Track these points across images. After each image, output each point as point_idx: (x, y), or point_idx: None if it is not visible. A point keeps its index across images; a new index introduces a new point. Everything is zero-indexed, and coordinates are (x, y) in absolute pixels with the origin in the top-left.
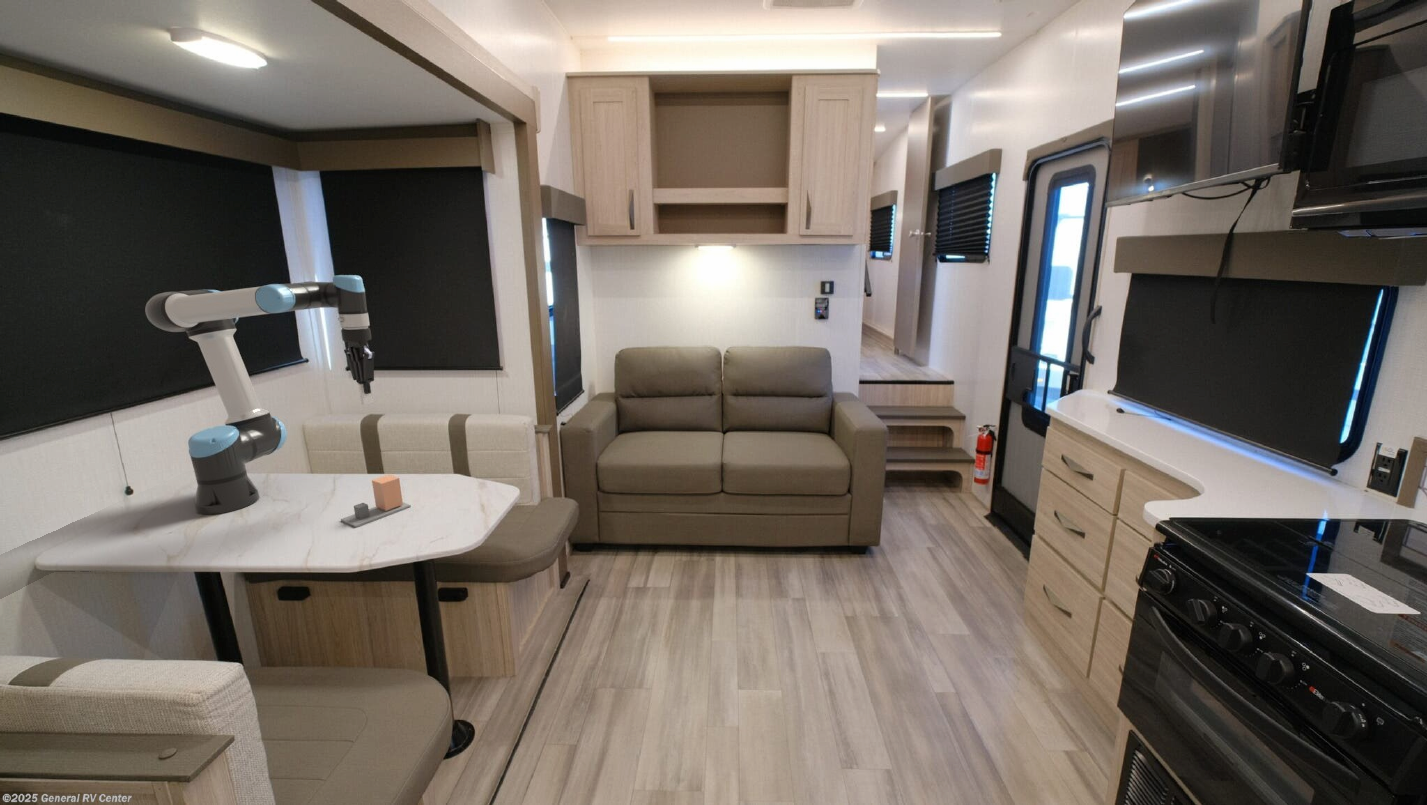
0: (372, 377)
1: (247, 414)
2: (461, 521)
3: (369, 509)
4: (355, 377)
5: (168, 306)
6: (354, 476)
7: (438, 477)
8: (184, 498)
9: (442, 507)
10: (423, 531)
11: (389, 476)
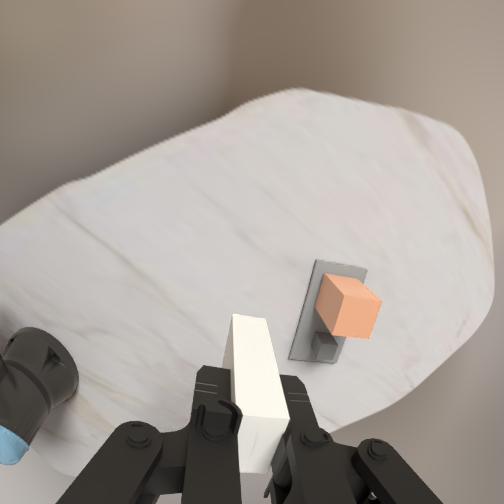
0: (402, 476)
1: None
2: (465, 274)
3: (306, 314)
4: (158, 496)
5: None
6: (92, 187)
7: (295, 112)
8: None
9: (416, 244)
10: (435, 321)
11: (354, 303)
